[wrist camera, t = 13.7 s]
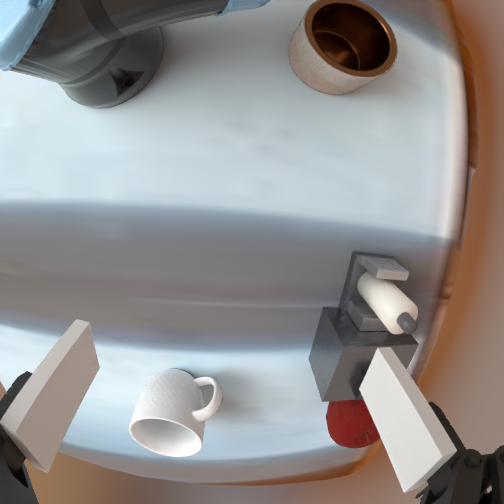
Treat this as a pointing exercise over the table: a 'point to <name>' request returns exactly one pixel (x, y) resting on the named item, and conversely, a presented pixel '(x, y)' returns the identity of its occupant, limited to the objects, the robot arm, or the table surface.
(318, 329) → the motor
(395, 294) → the white bottle
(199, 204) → the table surface
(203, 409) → the mug
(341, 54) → the planter
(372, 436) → the apple
